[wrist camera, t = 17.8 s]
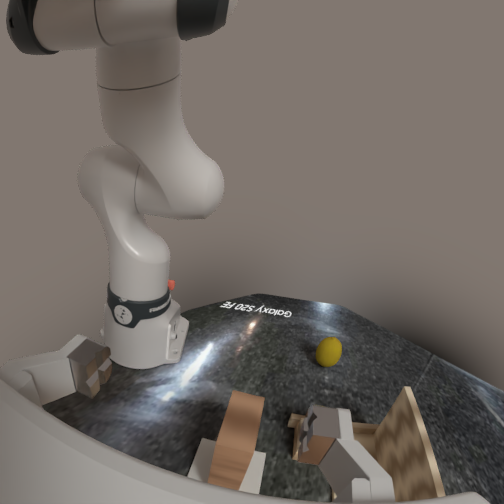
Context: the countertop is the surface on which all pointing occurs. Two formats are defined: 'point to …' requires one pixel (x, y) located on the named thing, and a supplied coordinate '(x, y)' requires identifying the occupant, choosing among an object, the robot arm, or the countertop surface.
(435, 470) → the rack
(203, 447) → the pad
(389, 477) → the robot arm
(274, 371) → the countertop surface
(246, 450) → the oak board
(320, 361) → the lemon
